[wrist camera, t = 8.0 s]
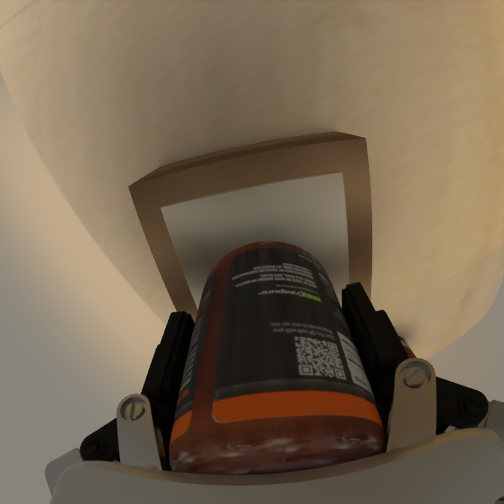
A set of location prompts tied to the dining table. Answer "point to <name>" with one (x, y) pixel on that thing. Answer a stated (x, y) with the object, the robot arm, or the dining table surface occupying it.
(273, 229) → the walnut base
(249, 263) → the supplement bottle
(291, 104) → the dining table surface
